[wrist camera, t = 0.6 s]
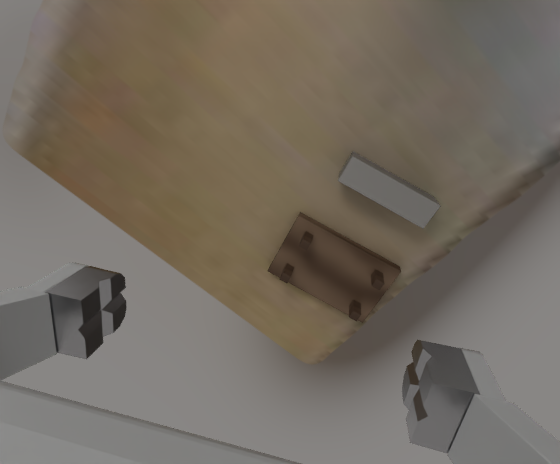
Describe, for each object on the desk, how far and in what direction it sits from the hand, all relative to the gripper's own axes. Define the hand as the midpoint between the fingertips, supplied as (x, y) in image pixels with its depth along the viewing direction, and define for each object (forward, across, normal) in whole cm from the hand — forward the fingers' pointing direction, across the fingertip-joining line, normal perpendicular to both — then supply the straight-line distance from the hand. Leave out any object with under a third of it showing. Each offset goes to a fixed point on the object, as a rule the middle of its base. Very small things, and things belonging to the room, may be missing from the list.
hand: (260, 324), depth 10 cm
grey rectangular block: (+40, -8, +4) cm, 41 cm away
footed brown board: (+40, -3, +18) cm, 44 cm away
